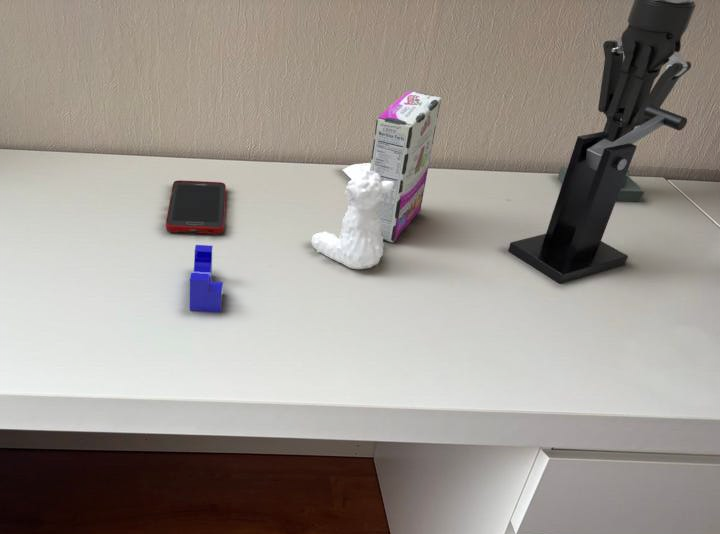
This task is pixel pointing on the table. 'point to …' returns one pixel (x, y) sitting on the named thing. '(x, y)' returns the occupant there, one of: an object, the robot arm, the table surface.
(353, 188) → the sitting furry creature
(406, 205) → the candy bar box
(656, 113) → the lever
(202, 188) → the cell phone
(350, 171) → the white flat piece
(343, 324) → the table surface
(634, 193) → the housing
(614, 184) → the bracket
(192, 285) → the cable holder
